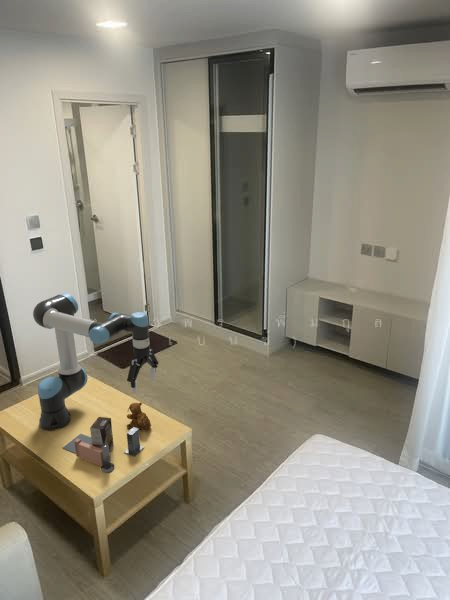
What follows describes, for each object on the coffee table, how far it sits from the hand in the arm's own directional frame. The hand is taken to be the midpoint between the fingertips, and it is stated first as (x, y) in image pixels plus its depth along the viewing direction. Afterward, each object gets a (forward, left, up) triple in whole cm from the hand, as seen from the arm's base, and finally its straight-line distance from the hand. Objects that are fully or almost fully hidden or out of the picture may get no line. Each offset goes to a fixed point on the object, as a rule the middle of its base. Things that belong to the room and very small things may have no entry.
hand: (144, 386), depth 212 cm
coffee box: (-11, -20, -28) cm, 36 cm away
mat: (-25, -21, -28) cm, 42 cm away
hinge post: (-2, -28, -28) cm, 39 cm away
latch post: (+2, -13, -28) cm, 30 cm away
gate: (-11, -28, -27) cm, 40 cm away
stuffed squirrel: (-7, +3, -28) cm, 29 cm away
